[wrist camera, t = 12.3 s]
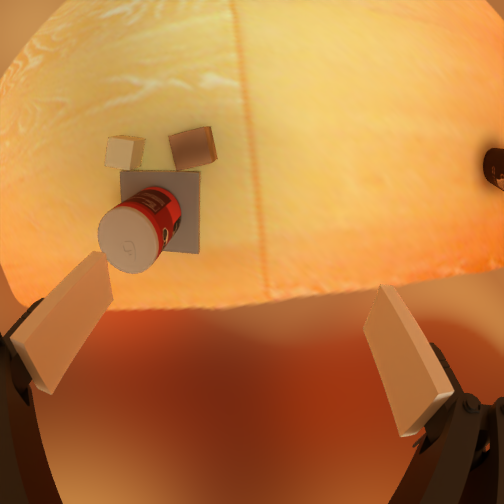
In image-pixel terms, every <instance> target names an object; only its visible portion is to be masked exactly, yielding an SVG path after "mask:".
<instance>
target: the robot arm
mask: <svg viewBox="0 0 504 504" xmlns="http://www.w3.org/2000/svg"><path fill="white" fill-rule="evenodd" d="M112 301H113V295H112V290H111V284H110V278H109V271H108V265H107V257H106V253H103V252H96V251H93V252H92V253H91V254H90V255H88V256H87V257H86V258H85V259H84V260H83V261H82V262H81V263H80V264H79V265H78V266H77V267H76V268H75V269H74V270H73V271H71V272H70V273H69V274H68V275H67V276H66V277H65V278H64V279H63V280H62V281H61V282H60V283H59V284H58V285H57V286H56V287H55V288H54V289H53V290H52V291H51V292H50V293H49V294H48V296H47V297H46V298H41V299H40V300H38V301H36V302H35V303H33V304H32V305H31V306H30V307H29V309H28V310H27V312H25V313H24V314H23V315H22V316H21V318H19V320H18V321H17V322H16V323H15V324H14V325H13V326H12V327H11V328H10V330H9V331H8V332H7V333H6V334H5V336H4V337H2V335H1V333H0V504H63V503H62V501H61V498H60V496H59V493H58V490H57V488H56V485H55V482H54V480H53V477H52V474H51V471H50V468H49V465H48V462H47V458H46V455H45V451H44V448H43V444H42V440H41V436H40V432H39V428H38V423H37V419H36V413H35V408H34V402H33V396H32V390H31V387H30V385H29V383H30V382H31V380H33V381H34V383H35V384H36V386H37V388H38V389H40V390H42V391H44V392H46V393H49V394H51V395H52V394H53V392H54V390H55V388H56V386H57V385H58V383H59V382H60V380H61V378H62V377H63V375H64V373H65V372H66V370H67V368H68V367H69V365H70V363H71V362H72V360H73V359H74V357H75V356H76V354H77V352H78V351H79V349H80V348H81V346H82V345H83V343H84V342H85V340H86V339H87V337H88V336H89V334H90V333H91V331H92V330H93V328H94V327H95V325H96V324H97V322H98V321H99V319H100V318H101V316H102V315H103V313H104V312H105V311H106V309H107V308H108V307H109V305H110V304H111V302H112ZM363 331H364V333H365V336H366V338H367V341H368V344H369V346H370V349H371V351H372V354H373V357H374V360H375V363H376V365H377V368H378V371H379V373H380V376H381V379H382V382H383V385H384V388H385V391H386V394H387V397H388V400H389V403H390V406H391V409H392V412H393V415H394V418H395V422H396V425H397V428H398V432H399V435H400V437H404V436H410V435H414V434H416V433H418V431H419V430H420V429H421V428H422V427H423V426H424V427H425V430H426V433H425V434H424V435H423V436H422V437H421V438H419V439H418V441H416V442H415V443H414V445H413V447H415V446H416V445H418V444H419V445H418V447H417V450H416V452H415V454H414V456H413V458H412V460H411V462H410V465H409V466H408V468H407V470H406V472H405V475H404V477H403V478H402V480H401V482H400V484H399V486H398V487H397V489H396V491H395V493H394V494H393V496H392V498H391V500H390V501H389V503H388V504H504V397H500V398H498V399H497V400H496V402H494V404H493V405H483V404H481V402H480V401H479V400H478V398H477V397H475V396H474V395H473V394H470V393H464V392H463V390H462V388H461V386H460V384H459V382H458V380H457V379H456V377H455V375H454V373H453V371H452V369H451V368H450V366H449V364H448V362H447V361H446V359H445V357H444V355H443V354H442V352H441V350H440V349H439V348H438V347H437V346H436V345H435V344H434V343H429V342H428V341H427V339H426V337H425V336H424V334H423V332H422V331H421V329H420V327H419V325H418V324H417V322H416V320H415V319H414V317H413V316H412V314H411V312H410V311H409V309H408V308H407V306H406V305H405V303H404V301H403V300H402V298H401V297H400V295H399V294H398V292H397V291H396V289H395V287H394V286H392V285H381V284H380V286H379V289H378V291H377V294H376V297H375V299H374V302H373V305H372V307H371V310H370V312H369V315H368V317H367V320H366V322H365V325H364V327H363ZM489 443H490V449H489V450H488V451H486V449H485V446H487V445H488V444H489Z"/></svg>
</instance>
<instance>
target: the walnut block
mask: <svg viewBox="0 0 504 504" xmlns="http://www.w3.org/2000/svg"><path fill="white" fill-rule="evenodd" d="M169 141H170V145H171V149H172V154H173V158H174V162H175V166H176V170H177V171H179V170H183V169H188V168H192V167H196V166H200V165H205V164H209V163H212V162H214V161H215V160H217V159H218V158H217V154H216V149H215V144H214V140H213V135H212V131H211V127H202V128H198V129H194V130H190V131H186V132H182V133H179V134H175V135H172V136H169Z"/></svg>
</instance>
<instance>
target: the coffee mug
mask: <svg viewBox="0 0 504 504" xmlns="http://www.w3.org/2000/svg"><path fill="white" fill-rule="evenodd" d="M483 170H484V174H485V177H486V179H487V180H488V181H489V182H490V183H492V184H493V185H495V186H496V187H498V188H499V189H501V190H503V191H504V149H497V148H492V149H490V150H489V151H488V152H487V153H486V155H485V158H484V162H483Z"/></svg>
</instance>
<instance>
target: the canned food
mask: <svg viewBox="0 0 504 504" xmlns="http://www.w3.org/2000/svg"><path fill="white" fill-rule="evenodd" d="M180 223H181V209H180V205H179V203H178V201H177V199H176V198H175V197H174V195H173V194H171V193H170V192H169V191H167V190H165V189H163V188H160V187H148V188H146V189H143V190H142V191H140V192H138V193H137V194H135V195H133V196H132V197H130V198H128V199H127V200H125V201H123V202H122V203H120V204H119V205H117V206H116V207H114V208H113V209H111V210H110V211H109V212H107V213H106V214H105V215H104V217H103V218H102V220H101V222H100V224H99V227H98V242H99V245H100V248H101V251H102V252H103V253H106V257H107V260H108V261H109V262H110V263H111V264H112V265H113V266H114V267H115V268H117V269H119V270H120V271H123V272H126V273H131V274H136V273H141V272H143V271H145V270H147V269H148V268H149V267H150V266H151V265H152V264H153V263H154V262H155V260H156V259H157V258H158V256H159V255H160V253H161V252H162V251H163V249H164V248H165V247H166V245H167V244H168V242H169V241H170V240H171V238H172V237H173V236H174V234H175V233H176V232H177V230H178V228H179V226H180Z"/></svg>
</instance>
